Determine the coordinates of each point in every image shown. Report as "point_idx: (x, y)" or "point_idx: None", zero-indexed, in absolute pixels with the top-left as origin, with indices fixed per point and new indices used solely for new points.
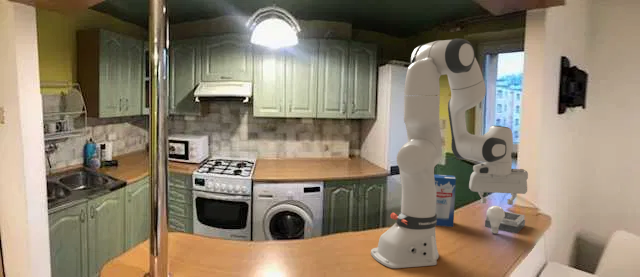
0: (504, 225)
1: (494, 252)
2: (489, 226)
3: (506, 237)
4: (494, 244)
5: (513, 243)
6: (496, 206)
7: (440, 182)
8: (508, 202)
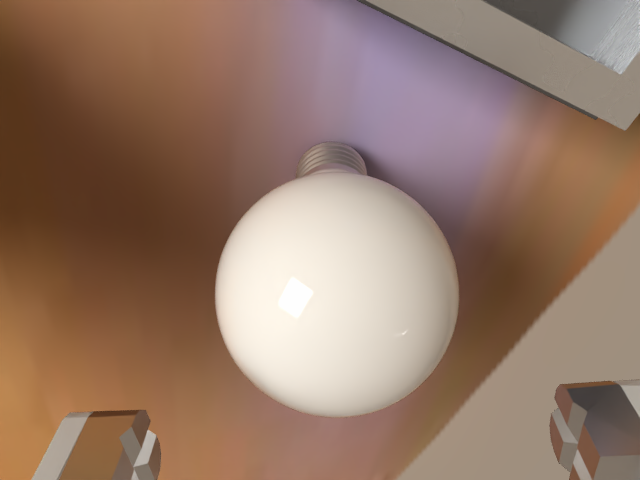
0: (470, 55)
1: (281, 468)
2: None
3: None
4: None
5: None
6: (340, 397)
7: None
8: (568, 450)
